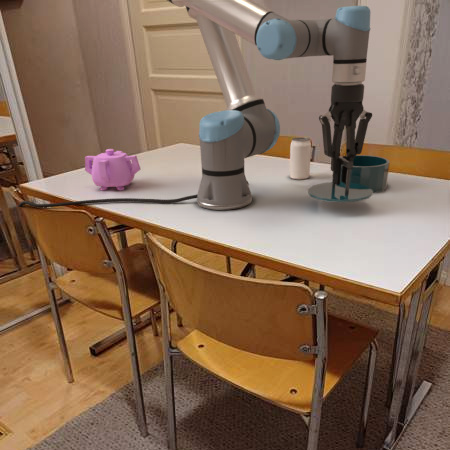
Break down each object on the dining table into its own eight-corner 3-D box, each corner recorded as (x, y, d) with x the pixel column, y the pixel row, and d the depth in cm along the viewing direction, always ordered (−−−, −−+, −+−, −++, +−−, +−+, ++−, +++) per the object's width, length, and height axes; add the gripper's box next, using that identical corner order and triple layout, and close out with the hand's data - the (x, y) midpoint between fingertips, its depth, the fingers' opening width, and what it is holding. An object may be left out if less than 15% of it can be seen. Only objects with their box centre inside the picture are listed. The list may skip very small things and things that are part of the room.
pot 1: (150, 179, 156) (145, 143, 151) (133, 194, 141) (128, 155, 136) (99, 179, 159) (93, 144, 153) (77, 194, 144) (70, 155, 138)
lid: (322, 207, 114) (324, 168, 109) (298, 189, 128) (299, 154, 123) (384, 200, 117) (389, 161, 112) (354, 184, 131) (357, 149, 126)
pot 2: (346, 195, 132) (348, 169, 128) (324, 182, 145) (326, 157, 142) (396, 190, 135) (400, 164, 131) (370, 177, 148) (373, 153, 144)
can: (303, 180, 148) (305, 141, 142) (285, 178, 151) (286, 139, 145) (313, 176, 152) (315, 138, 146) (295, 173, 156) (297, 136, 150)
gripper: (325, 86, 105) (319, 189, 116) (384, 82, 107) (373, 183, 119) (312, 84, 111) (308, 182, 123) (369, 80, 114) (360, 177, 125)
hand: (340, 183), depth 121 cm, fingers closed on lid, 2 cm apart
